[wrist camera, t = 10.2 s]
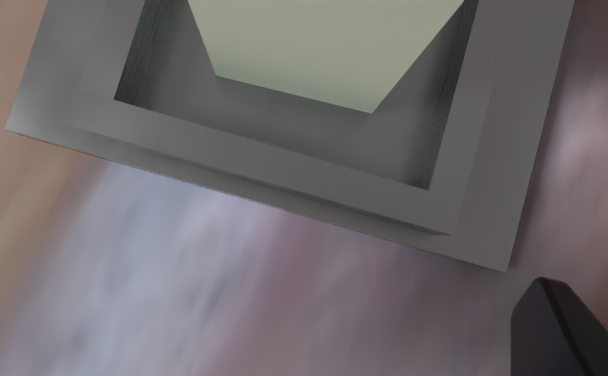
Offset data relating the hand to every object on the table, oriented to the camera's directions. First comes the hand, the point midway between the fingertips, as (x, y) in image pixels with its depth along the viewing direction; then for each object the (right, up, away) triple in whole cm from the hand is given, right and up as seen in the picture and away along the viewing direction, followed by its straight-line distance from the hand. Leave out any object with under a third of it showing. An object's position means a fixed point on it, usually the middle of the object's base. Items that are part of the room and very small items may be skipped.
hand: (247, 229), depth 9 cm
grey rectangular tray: (+1, +6, +10) cm, 12 cm away
